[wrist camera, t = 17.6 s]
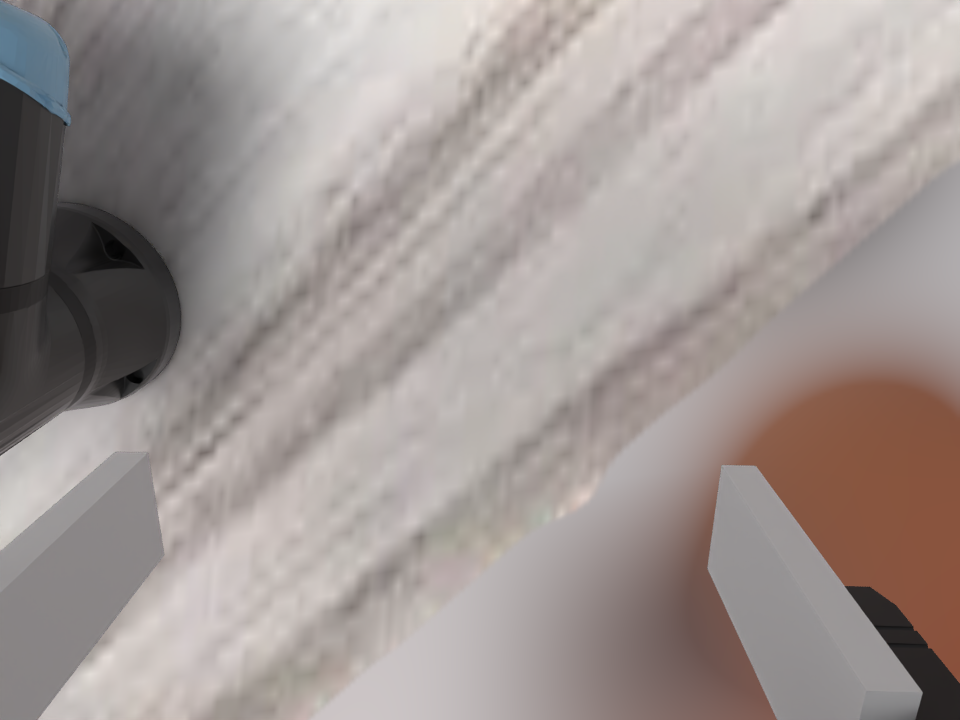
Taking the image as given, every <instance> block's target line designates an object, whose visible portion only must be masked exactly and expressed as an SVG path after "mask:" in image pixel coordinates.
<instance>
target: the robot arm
mask: <svg viewBox="0 0 960 720" xmlns="http://www.w3.org/2000/svg"><path fill="white" fill-rule="evenodd" d="M69 67H70V59H69V53H68V50H67V47H66V44H65V42H64V41H63V39H62V37H61V36H60V35H59V34H58V32H57V31H56V30H55V29H54V28H53V27H52V26H51V25H50V24H49V23H47V22H46V21H44V20H43V19H41V18H40V17H38V16H35V15H33V14H31V13H29V12H27V11H25V10H22V9H20V8H18V7H16V6H13V5H11V4H8V3H6V2H4V1H1V0H0V456H1V455H2V454H3V453H5V452H6V451H8V450H9V449H11V448H12V447H13V446H15V445H16V444H18V443H19V442H21V441H22V440H23V439H25V438H26V437H28V436H29V435H31V434H32V433H33V432H35V431H36V430H38V429H39V428H41V427H42V426H43V425H45V424H46V423H48V422H49V421H51V420H52V419H53V418H55V417H56V416H58V415H59V414H60V413H62V412H63V411H69V410H76V409H83V408H89V407H96V406H102V405H106V404H110V403H113V402H116V401H119V400H121V399H124V398H126V397H128V396H130V395H132V394H133V393H135V392H136V391H138V390H139V389H141V388H142V387H143V386H145V385H146V384H147V383H149V382H150V381H151V380H153V379H154V378H155V377H156V376H157V375H158V374H159V373H160V372H161V371H162V370H163V369H164V367H165V366H166V365H167V363H168V362H169V360H170V358H171V357H172V355H173V353H174V350H175V348H176V345H177V342H178V338H179V333H180V323H181V313H180V304H179V298H178V294H177V290H176V287H175V284H174V282H173V279H172V277H171V275H170V273H169V271H168V269H167V267H166V265H165V263H164V262H163V260H162V259H161V257H160V256H159V254H158V253H157V252H156V250H155V249H154V248H153V247H152V246H151V245H150V243H149V242H148V241H147V240H146V239H145V238H144V237H143V236H142V235H140V234H139V233H138V232H137V231H136V230H135V229H133V228H132V227H131V226H129V225H128V224H126V223H125V222H123V221H122V220H120V219H118V218H117V217H115V216H113V215H111V214H109V213H107V212H104V211H102V210H99V209H96V208H93V207H90V206H86V205H81V204H75V203H57V201H58V191H59V182H60V172H61V163H62V153H63V143H64V134H65V126H70V125H71V116H70V114H69V112H68V111H67V104H68V85H69ZM163 556H164V549H163V542H162V536H161V530H160V524H159V517H158V511H157V505H156V498H155V492H154V486H153V479H152V473H151V467H150V460H149V454H148V453H147V452H115V453H113V454H112V455H111V456H110V457H109V458H108V459H107V460H105V461H104V462H103V463H102V464H101V465H100V466H98V467H97V468H96V469H95V470H94V471H93V472H92V473H90V474H89V475H88V476H87V477H86V478H85V479H83V480H82V481H81V482H80V483H79V484H78V485H76V486H75V487H74V488H73V489H72V490H71V491H70V492H68V493H67V494H66V495H65V496H64V497H63V498H61V499H60V500H59V501H58V502H57V503H56V504H55V505H53V506H52V507H51V508H50V509H49V510H48V511H46V512H45V513H44V514H43V515H42V516H41V517H39V518H38V519H37V520H36V521H35V522H34V523H33V524H31V525H30V526H29V527H28V528H27V529H26V530H24V531H23V532H22V533H21V534H20V535H19V536H17V537H16V538H15V539H14V540H13V541H12V542H11V543H9V544H8V545H7V546H6V547H5V548H4V549H2V550H1V551H0V720H38V718H39V717H40V716H41V714H42V713H43V712H44V711H45V709H46V708H47V707H48V705H49V704H50V703H51V701H52V700H53V699H54V698H55V696H56V695H57V694H58V692H59V691H60V690H61V688H62V687H63V686H64V685H65V683H66V682H67V681H68V679H69V678H70V677H71V675H72V674H73V673H74V672H75V670H76V669H77V668H78V666H79V665H80V664H81V662H82V661H83V660H84V659H85V657H86V656H87V655H88V653H89V652H90V651H91V650H92V648H93V647H94V646H95V644H96V643H97V642H98V640H99V639H100V638H101V637H102V635H103V634H104V633H105V631H106V630H107V629H108V627H109V626H110V625H111V624H112V622H113V621H114V620H115V618H116V617H117V616H118V614H119V613H120V612H121V611H122V609H123V608H124V607H125V605H126V604H127V603H128V601H129V600H130V599H131V598H132V596H133V595H134V594H135V592H136V591H137V590H138V589H139V587H140V586H141V585H142V583H143V582H144V581H145V579H146V578H147V577H148V576H149V574H150V573H151V572H152V570H153V569H154V568H155V566H156V565H157V564H158V563H159V561H160V560H161V559H162V557H163ZM707 569H708V571H709V573H710V575H711V577H712V579H713V582H714V584H715V586H716V588H717V590H718V592H719V595H720V597H721V599H722V601H723V603H724V605H725V607H726V610H727V612H728V614H729V616H730V618H731V621H732V623H733V625H734V627H735V629H736V631H737V634H738V636H739V638H740V640H741V642H742V644H743V646H744V649H745V651H746V653H747V655H748V657H749V660H750V662H751V664H752V666H753V668H754V670H755V672H756V675H757V677H758V679H759V681H760V683H761V686H762V688H763V690H764V692H765V694H766V696H767V698H768V700H769V703H770V705H771V707H772V709H773V711H774V714H775V716H776V718H777V720H960V683H959V682H958V681H957V680H956V678H955V677H954V676H953V675H952V673H951V672H950V671H949V670H948V669H947V667H946V666H945V665H944V664H943V662H942V661H941V660H940V659H939V658H938V656H937V655H936V654H935V653H934V651H933V650H932V649H928V646H927V643H926V642H925V640H924V639H923V638H922V637H921V635H920V634H919V633H918V632H917V631H914V629H913V626H912V624H911V623H910V622H909V621H908V620H907V618H906V617H905V616H904V615H903V613H902V612H901V611H900V610H899V608H898V607H897V606H896V605H895V604H893V603H892V602H890V601H889V600H888V599H886V598H885V597H883V596H882V595H881V594H879V593H878V592H876V591H875V590H874V589H872V588H871V587H855V586H844V585H843V584H842V582H841V581H840V580H839V578H838V577H837V575H836V574H835V573H834V572H833V570H832V569H831V567H830V566H829V565H828V563H827V562H826V561H825V559H824V558H823V556H822V555H821V554H820V552H819V551H818V550H817V548H816V547H815V546H814V544H813V543H812V542H811V540H810V539H809V538H808V536H807V535H806V533H805V532H804V531H803V529H802V528H801V527H800V525H799V524H798V523H797V521H796V520H795V519H794V517H793V516H792V514H791V513H790V512H789V510H788V509H787V508H786V506H785V505H784V504H783V502H782V501H781V500H780V498H779V497H778V496H777V494H776V493H775V491H774V490H773V489H772V487H771V486H770V485H769V483H768V482H767V481H766V479H765V478H764V477H763V475H762V474H761V472H760V471H759V470H758V468H757V467H756V466H737V465H722V466H721V473H720V480H719V488H718V495H717V502H716V510H715V518H714V524H713V532H712V539H711V547H710V554H709V561H708V568H707Z"/></svg>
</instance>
